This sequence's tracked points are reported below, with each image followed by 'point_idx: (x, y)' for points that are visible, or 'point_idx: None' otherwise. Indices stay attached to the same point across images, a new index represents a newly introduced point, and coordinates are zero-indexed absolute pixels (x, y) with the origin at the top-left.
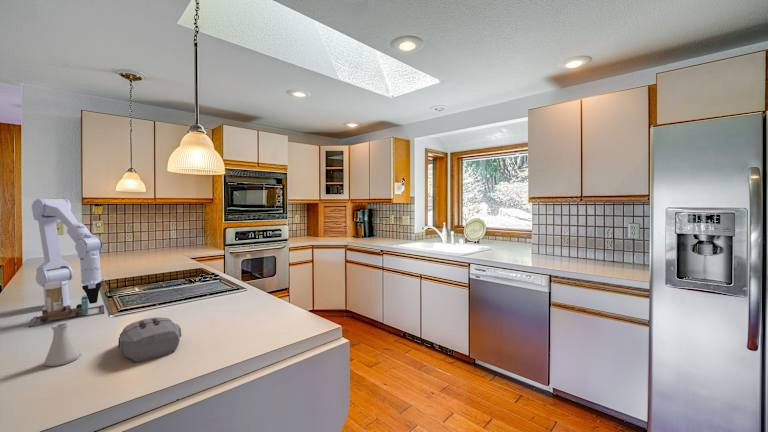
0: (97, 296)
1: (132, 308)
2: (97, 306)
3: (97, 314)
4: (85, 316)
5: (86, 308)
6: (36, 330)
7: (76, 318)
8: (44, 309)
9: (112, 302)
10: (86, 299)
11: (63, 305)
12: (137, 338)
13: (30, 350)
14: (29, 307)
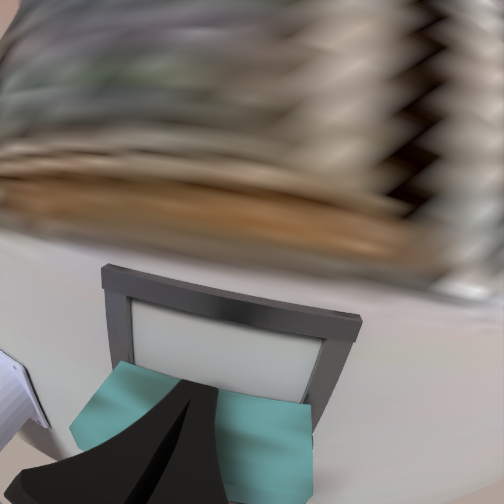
0: (213, 438)
1: (414, 109)
2: (112, 307)
3: (344, 354)
4: (322, 407)
5: (310, 441)
6: (337, 500)
7: None
8: (47, 426)
9: (53, 193)
10: (257, 491)
11: (22, 383)
12: None
13: (498, 469)
14: None
